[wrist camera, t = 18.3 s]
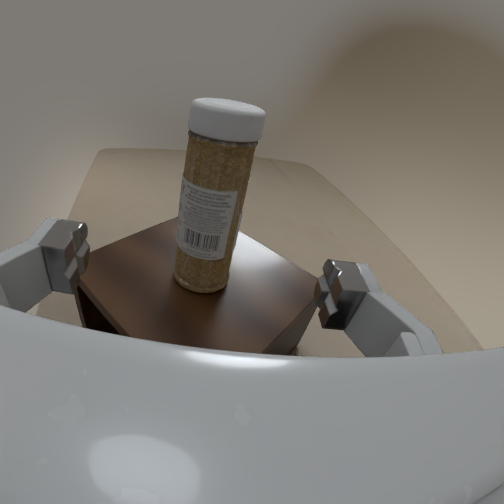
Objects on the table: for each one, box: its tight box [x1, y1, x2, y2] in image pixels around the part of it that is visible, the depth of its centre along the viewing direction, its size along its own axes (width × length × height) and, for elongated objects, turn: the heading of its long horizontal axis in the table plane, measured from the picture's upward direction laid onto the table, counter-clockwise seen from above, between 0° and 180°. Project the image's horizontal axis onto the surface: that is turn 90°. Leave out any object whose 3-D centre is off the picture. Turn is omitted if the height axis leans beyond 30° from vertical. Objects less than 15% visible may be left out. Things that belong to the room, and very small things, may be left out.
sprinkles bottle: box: [173, 98, 266, 293], centre depth 20 cm, size 5×5×14 cm
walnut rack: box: [74, 217, 318, 356], centre depth 27 cm, size 16×16×9 cm
